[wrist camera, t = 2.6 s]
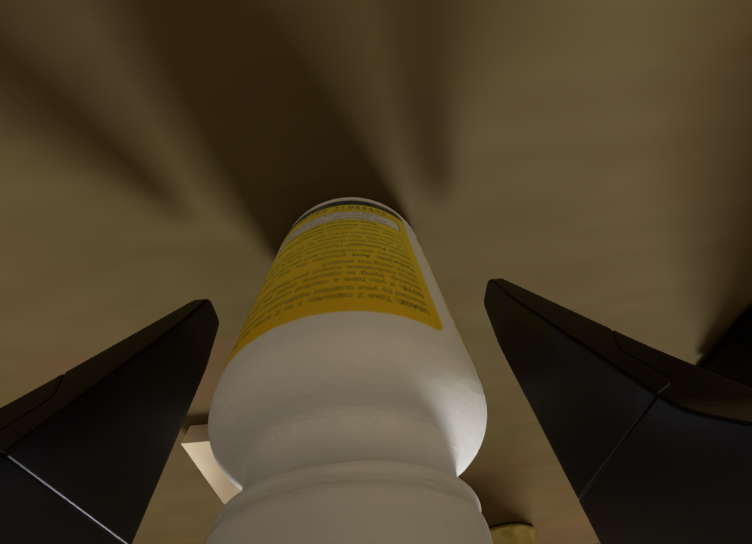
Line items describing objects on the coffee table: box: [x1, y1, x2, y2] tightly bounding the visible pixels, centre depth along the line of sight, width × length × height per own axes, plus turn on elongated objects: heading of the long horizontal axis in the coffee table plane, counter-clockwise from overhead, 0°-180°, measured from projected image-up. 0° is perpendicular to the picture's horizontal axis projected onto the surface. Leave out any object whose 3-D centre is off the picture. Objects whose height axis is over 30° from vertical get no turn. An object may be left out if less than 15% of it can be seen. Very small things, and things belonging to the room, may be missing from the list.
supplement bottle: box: [205, 197, 493, 544], centre depth 7 cm, size 5×5×10 cm
